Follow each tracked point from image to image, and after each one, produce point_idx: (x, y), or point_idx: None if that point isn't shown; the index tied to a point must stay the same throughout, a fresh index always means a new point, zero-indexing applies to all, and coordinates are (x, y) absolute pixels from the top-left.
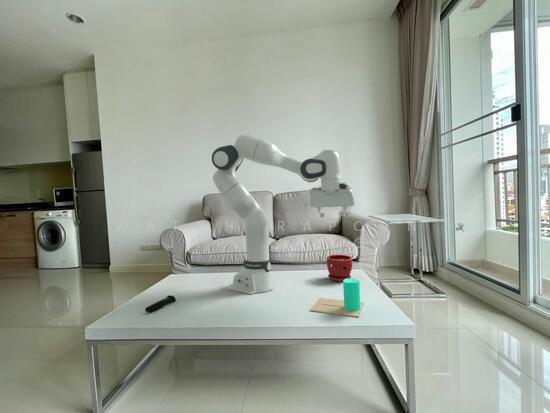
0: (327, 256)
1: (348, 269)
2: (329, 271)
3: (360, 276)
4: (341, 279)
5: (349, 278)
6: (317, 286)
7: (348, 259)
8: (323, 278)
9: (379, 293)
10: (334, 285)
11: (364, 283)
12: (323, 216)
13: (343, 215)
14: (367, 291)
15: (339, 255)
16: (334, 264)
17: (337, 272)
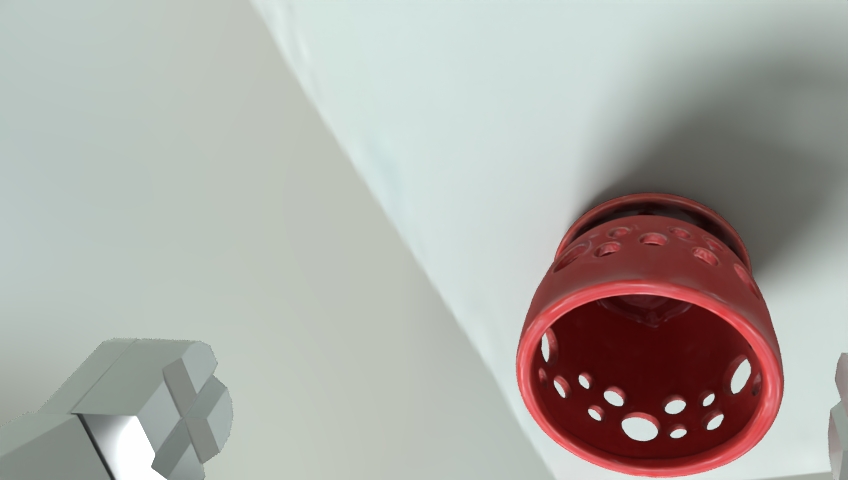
0: (779, 387)
1: (579, 351)
2: (728, 248)
3: (512, 363)
4: (608, 202)
5: (556, 254)
6: (798, 13)
7: (533, 330)
8: (794, 251)
9: (278, 33)
10: (646, 97)
11: (439, 218)
12: (843, 388)
13: (104, 351)
14: (363, 45)
15: (667, 463)
16: (666, 253)
17: (638, 220)
